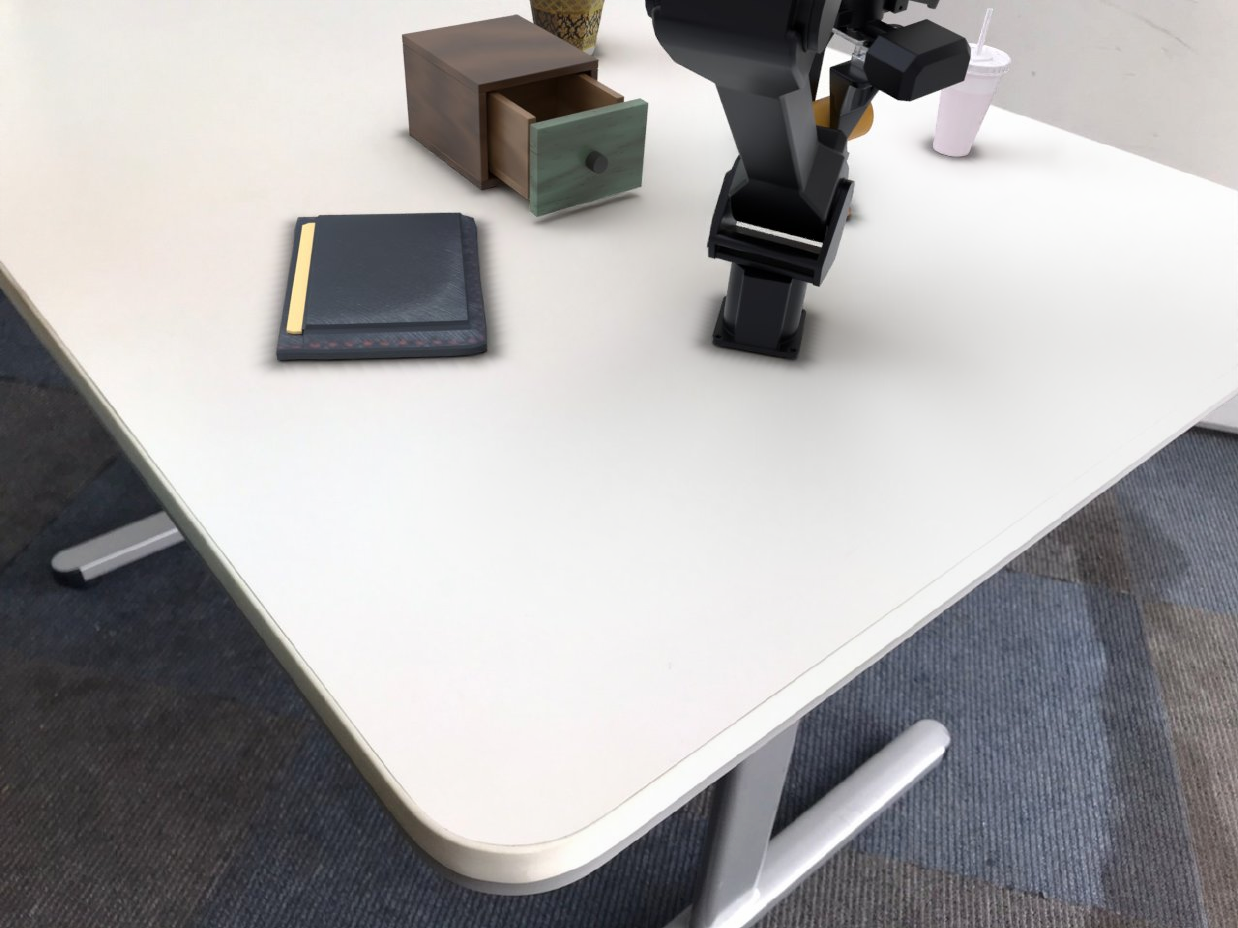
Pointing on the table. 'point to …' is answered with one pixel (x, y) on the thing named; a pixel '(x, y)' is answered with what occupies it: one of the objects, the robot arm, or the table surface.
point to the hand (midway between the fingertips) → (820, 133)
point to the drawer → (565, 141)
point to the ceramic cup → (570, 20)
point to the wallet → (383, 288)
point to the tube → (823, 117)
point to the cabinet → (476, 82)
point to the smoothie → (969, 97)
